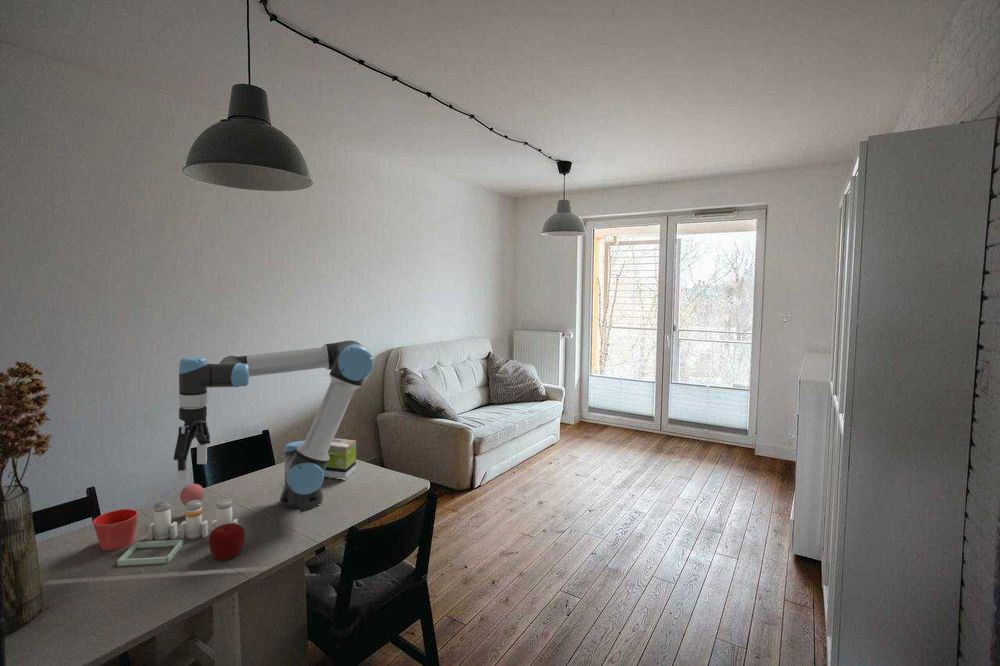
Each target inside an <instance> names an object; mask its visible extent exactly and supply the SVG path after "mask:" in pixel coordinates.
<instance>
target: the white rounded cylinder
mask: <svg viewBox="0 0 1000 666" xmlns="http://www.w3.org/2000/svg"><path fill="white" fill-rule="evenodd" d="M215 505H216V520H217V527H218V526H221V525H224V524H229V523H232V522H233V521H234V519H233V499H231V498H222V499H219V500H218V501H216V502H215Z"/></svg>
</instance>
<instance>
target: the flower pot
mask: <svg viewBox="0 0 1000 666" xmlns="http://www.w3.org/2000/svg"><path fill="white" fill-rule="evenodd" d="M138 518H139V511H138V510H136V509H133V508H125V509H117V510H112V511H111V510H110V511H107V512H105V513H103V514H100V515H99V516H97V517H96V518H94V519H93V521H92V523H93V526H94V530H95V533H96V536H97V540H98V543H99V547H100V549H101V550H103V551H116V550H120V549H124V548H126V547H128V546H130V545H131V544H132V543H133V542H134V539H135V536H136V535H135V534H136V529H137V522H138Z"/></svg>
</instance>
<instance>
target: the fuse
mask: <svg viewBox="0 0 1000 666" xmlns="http://www.w3.org/2000/svg"><path fill="white" fill-rule="evenodd" d="M171 504H172V503H171V501H168V500H165V501H159V502H156V503H155V504H154V503H153V506H152V507H153V523H154V527H155V541H165V540H168V539H170V538H171V532H170V525H171V524H172V513H171V511H172V510H171V508H172V507H171V506H172V505H171Z"/></svg>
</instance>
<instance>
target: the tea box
mask: <svg viewBox="0 0 1000 666" xmlns="http://www.w3.org/2000/svg"><path fill="white" fill-rule="evenodd" d="M328 455H329V457H330V459H329V461H328V463H327V466H326V468H325V470H324V477H330V478H329V479H331V478H346V477H348V476H349V475H350V474H351V473H352V472H353V471H355V470H356V471H357V469H356V468H357V465H356V464H357V440H354V439H347V438H336V437H334V439H333V441H332V443H331V445H330V448H329V450H328Z"/></svg>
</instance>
